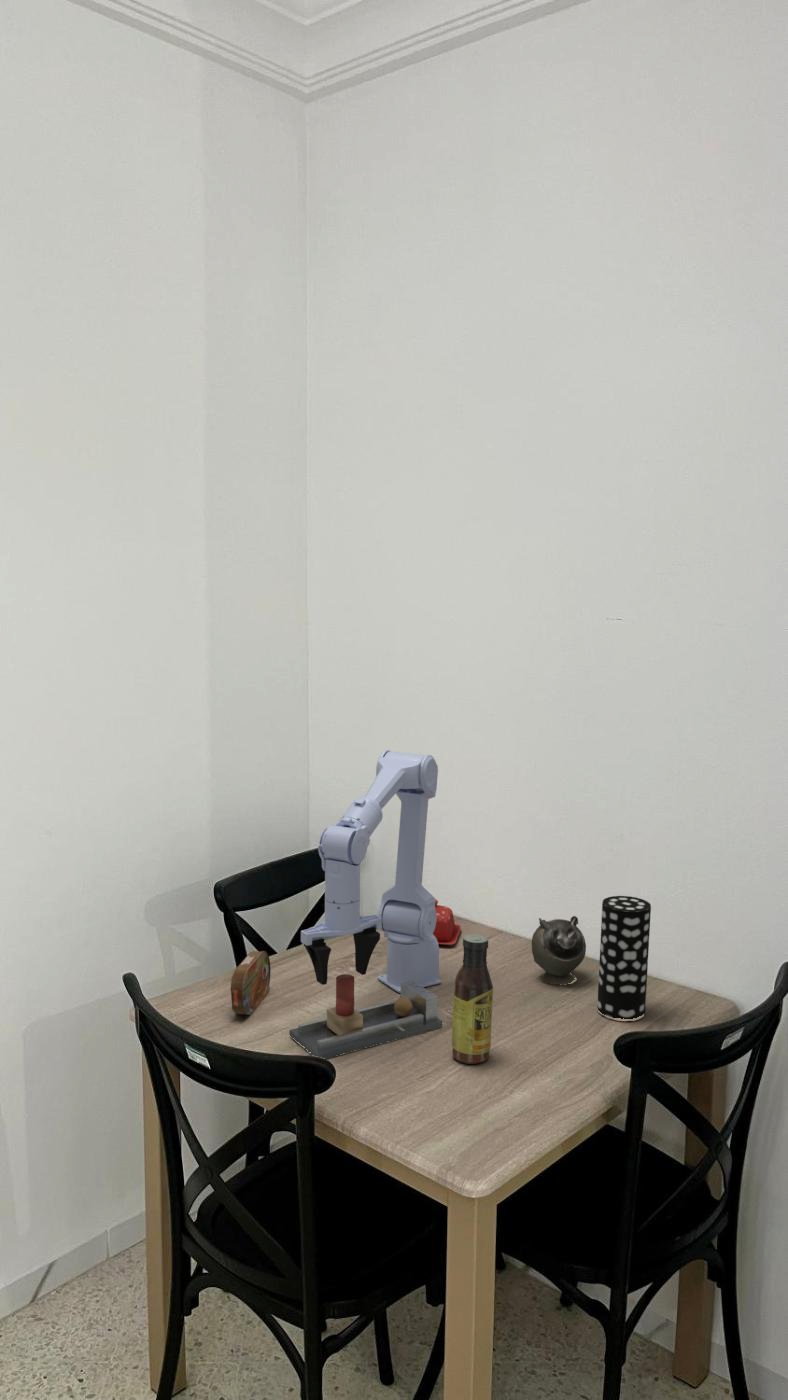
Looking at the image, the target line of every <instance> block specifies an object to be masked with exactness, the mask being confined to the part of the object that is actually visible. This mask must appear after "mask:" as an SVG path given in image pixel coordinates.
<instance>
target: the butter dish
mask: <svg viewBox="0 0 788 1400" xmlns="http://www.w3.org/2000/svg"><path fill="white" fill-rule="evenodd" d="M438 903H439V900H438V899H436V898H435V911H436V926H435V929H434V932H433V935H434V936H435V937H436V939H437V941H438V945H442V946H445V945H446V946H453V945H455V944H456V943H457V940H458V938H459V935H460V932H461V929H462V926H461V925H459V924H455V917H454V912H453V909H452V908H450V907H448V906H446V905H439V904H438Z"/></svg>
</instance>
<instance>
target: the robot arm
mask: <svg viewBox="0 0 788 1400" xmlns="http://www.w3.org/2000/svg"><path fill="white" fill-rule="evenodd" d="M438 767H439V766H438V763H437V761H436V760H435V758H434V756H433V755H431V754H426V755H425V754H418V753H417V754H416V753H410V752H400V751H392V750H390V749H389V750H388V749H386V750H384V751H383V752H381V754H380V755H379V757H378V759H377V761H376V769H375V771H376V772H375V775H376V776H375V778H374V780H373V782H372V784H371V785H370V787H369V789H368V790H367V792H366V794H365V795H364V797H363V796H361V797H357V798H355V799H354V800H353V801H352V803H350V805H349V807H348V808H347V809H346V811H345V812H344V814H343V815H341V817H340V818H339V820H338V822H337V823H335V825H333V824H331V825H330V826H327V827H326V828H325V829H324V830H323V831H322V832H321V835H320V838H319V843H318V845H317V846H318V847H317V850H318V855H319V857H320V859H321V868H322V870H323V872H324V921H323V922H320V923H318V924H316V925H314V926H311V927H309V928H307V929H303V930H301V931H300V942H301V943H302V944H303V946H304V947H305V949H306V952H307V953H308V955H309V958H310V960H311V963H312V966H313V970H314V973H315V978H316V982H317V983H319V984H321V985H322V986H324V985H328V975H329V974H328V967H329V965H328V964H329V959H330V954H331V951H332V948H331V947H329V946H327V942H325V941H326V940H330V939H336V938H340V937H344V936H349V935H352V936H353V941H354V942H353V943H354V955H355V956H354V957H355V959H354V961H355V962H354V963H355V964H354V965H355V971H356V972H357V973H359V974H360V975H362V976H363V975H366V974H367V971H368V967H369V963H370V960H371V958H372V957H371V956H372V954H373V953H374V950H375V948H376V946H377V944H378V943H379V941H380V940H381V933H380V932H378V931H377V930H380V931H381V932H383V937H384V938H386V941H387V942H386V948H387V949H386V973H385V974H381V975H378V976H377V980H378V981H380V982H381V983H383V984H385V985H386V986H387V987H390V988H391V989H392V990H393V991H394V992H395V991H396V992H397V993H398V994H401V983H403V982H408V981H414V982H415V983H417V984H419V985H420V986H422V987H423V988H425V987H426V988H427V987H431V986H434V985H439V984H441V983H442V980H441V979H440V976H439V975H440V947H439V945H440V944H438V941H437V939H436V937H435V936H434V935H433V932H434V929H435V926H436V911H435V899H436V897H434V896H433V894H432V893H430V891H428V890H427V889H426V888H425V887H424V885H422V884H423V872H424V860H425V859H424V858H425V848H426V845H425V844H426V837H427V835H426V834H427V821H428V808H429V800H430V799H433V798H436V795H437V788H438V787H437V786H438V774H439V768H438ZM395 795H396V796H397V798H398V799H399V800H400V805H401V806H400V814H399V815H400V818H399V831H398V841H397V842H398V843H397V844H398V845H397V855H396V857H397V858H396V868H395V869H396V870H395V880H394V881H395V882H394V885H392V886H390V887H389V888H388V889H386V890H385V891H384V892H383V893H382V896H381V901H380V902H381V903H380V905H379V909H378V912H377V914H371V915H363V916H360V915H361V914H360V911H361V908H360V907H361V906H360V904H361V863H362V862H363V861H364V860H365V857H366V855H367V851H368V847H369V846H370V841H371V839H370V837H371V836H372V835H373V834H374V832H375V830H376V829H377V828H378V826H379V825H380V823H381V822H382V820H383V810H382V809H383V808H384V807H385V806H387V804H388V803H389V801H391V799H392V798H394V796H395Z"/></svg>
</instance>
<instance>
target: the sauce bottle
mask: <svg viewBox="0 0 788 1400" xmlns="http://www.w3.org/2000/svg"><path fill="white" fill-rule="evenodd" d="M462 947H463V958H462V965H461V967H460V968H459V970H458V972H457V974H456V975H455V978H454V992H453V1006H452V1007H453V1009H452V1010H453V1011H452V1030H451V1047H452V1057H453V1058H454V1059H455V1060H456V1061H458V1062H460V1063H464V1064H467V1065H469V1064H471V1065H473V1064H481V1063H483V1062H486V1061H487V1060H488V1058H489V1055H490V1050H491V1042H492V1041H491V1039H492V1023H493V1021H492V1019H493V1001H494V999H493V998H494V997H493V996H494V986H493V981H492V978H491V975H490V973H489V968H488V965H487V964H488V961H487V956H488V955H487V952H488V948H489V938H488V937H486V936H485V935H482V934H475V933H474V934H472V933H471V934H466V935H465V936H463V938H462Z"/></svg>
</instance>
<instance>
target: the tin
mask: <svg viewBox="0 0 788 1400" xmlns="http://www.w3.org/2000/svg"><path fill="white" fill-rule="evenodd" d="M271 970H272V968H271V960H270V956H269V954H268V952H267V951H266V950H262V951H254V950H253V951H250V952H249V953H248V954H247V955H246V956H245V958H244V959H243V960H242V961H241V963H239V964H238V966H237V967H236V968H235V970H234V972H233V974H232V977H231V982H230V996H231V997H230V998H231V1008H232V1011H233V1012H234V1013H235V1014H237V1015H247V1016H251V1015H252V1014H254V1012H255V1011H256V1010H257V1008H258V1007H259V1005H260V1004H261V1002H262V1001H263V1000H264V998H265V997H266V995H267V994H268V991H269V988H270V983H271Z"/></svg>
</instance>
